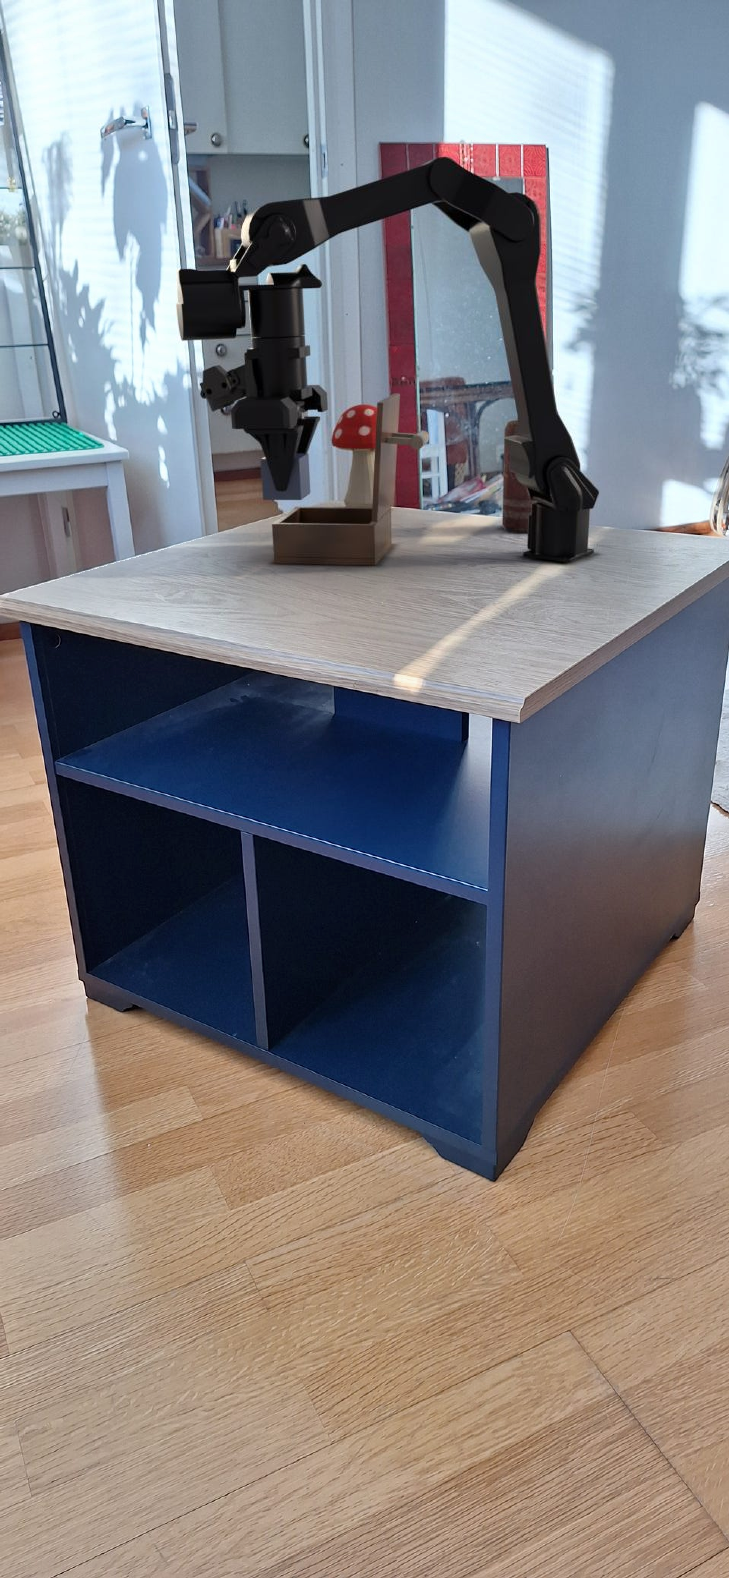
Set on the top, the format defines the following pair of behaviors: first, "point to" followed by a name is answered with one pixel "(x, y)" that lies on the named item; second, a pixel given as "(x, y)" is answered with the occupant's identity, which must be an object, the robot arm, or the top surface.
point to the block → (297, 481)
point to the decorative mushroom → (358, 451)
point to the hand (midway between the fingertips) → (286, 487)
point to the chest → (331, 536)
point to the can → (514, 494)
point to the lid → (389, 453)
